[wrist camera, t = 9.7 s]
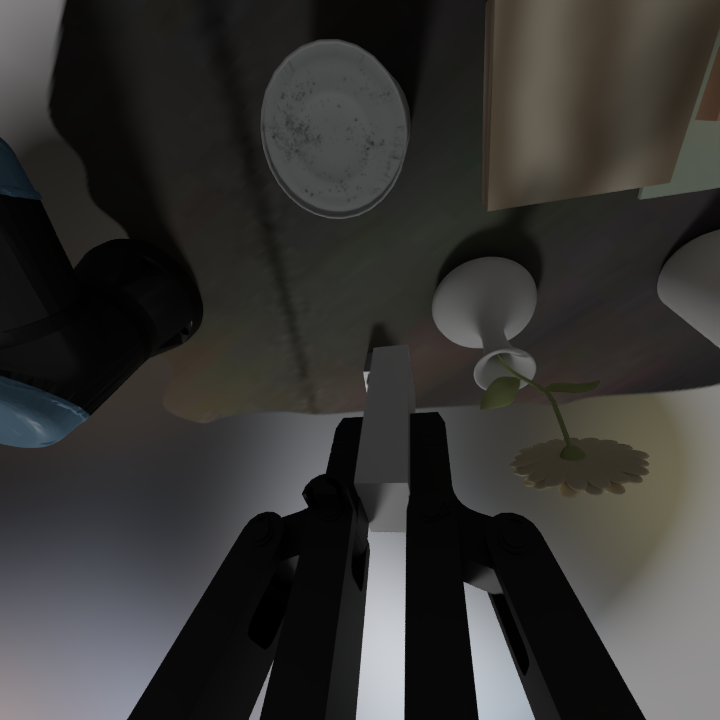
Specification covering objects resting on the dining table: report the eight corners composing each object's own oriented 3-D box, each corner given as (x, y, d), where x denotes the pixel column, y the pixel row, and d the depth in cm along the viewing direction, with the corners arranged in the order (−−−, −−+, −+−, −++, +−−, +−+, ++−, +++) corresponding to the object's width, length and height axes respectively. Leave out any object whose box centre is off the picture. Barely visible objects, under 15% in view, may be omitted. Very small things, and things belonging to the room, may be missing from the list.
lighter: (367, 352, 47) (359, 391, 40) (379, 352, 46) (373, 391, 40) (373, 390, 51) (367, 430, 44) (384, 390, 50) (380, 430, 44)
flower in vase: (426, 336, 44) (434, 525, 24) (437, 249, 37) (461, 416, 17) (531, 342, 42) (631, 550, 22) (563, 253, 35) (748, 441, 16)
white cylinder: (359, 28, 27) (326, -15, 17) (432, 130, 30) (439, 142, 21) (288, 128, 32) (232, 139, 22) (359, 207, 35) (336, 246, 26)
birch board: (481, 201, 33) (487, 211, 30) (485, 2, 25) (495, -12, 22) (643, 174, 30) (670, 182, 27) (708, -61, 22) (756, -89, 19)
